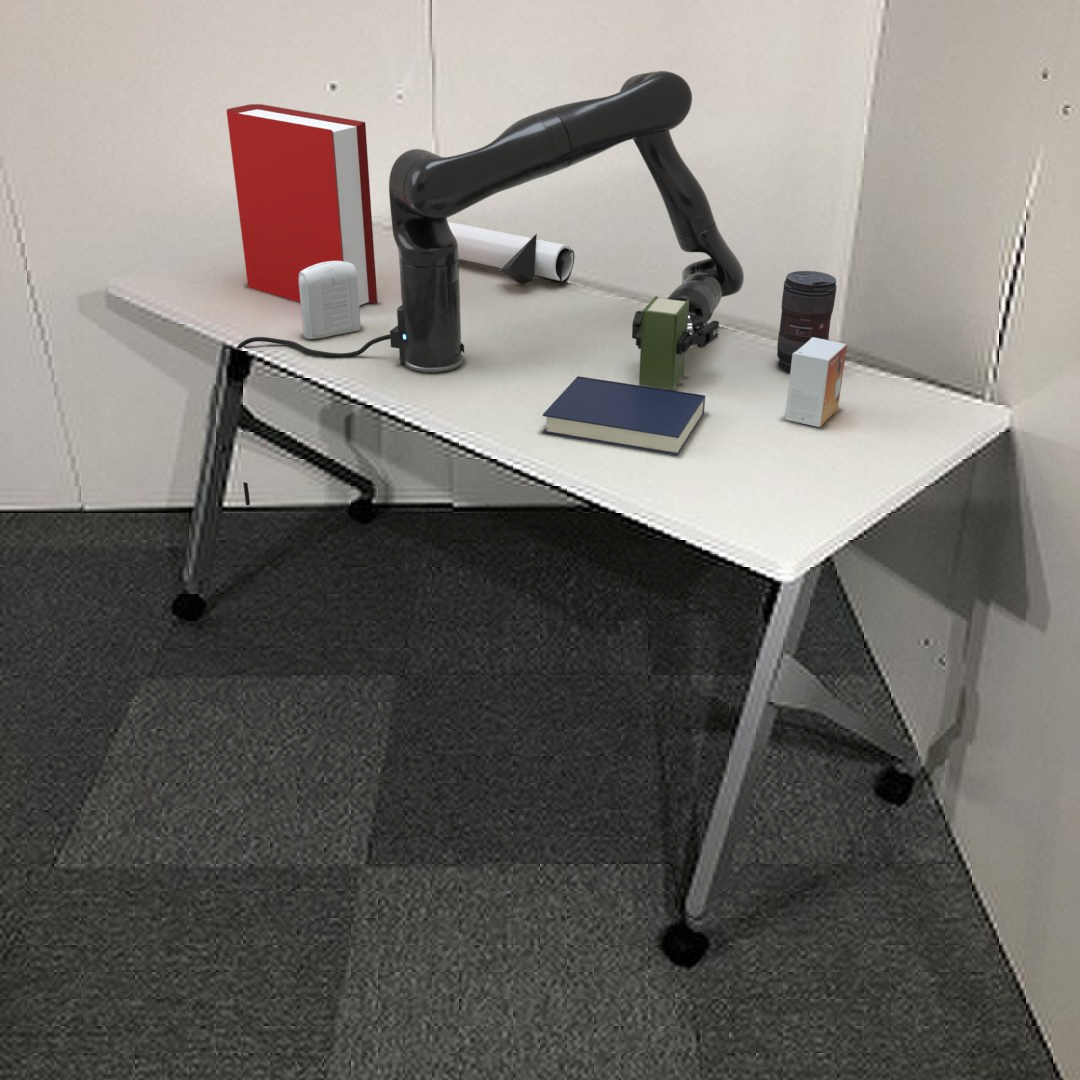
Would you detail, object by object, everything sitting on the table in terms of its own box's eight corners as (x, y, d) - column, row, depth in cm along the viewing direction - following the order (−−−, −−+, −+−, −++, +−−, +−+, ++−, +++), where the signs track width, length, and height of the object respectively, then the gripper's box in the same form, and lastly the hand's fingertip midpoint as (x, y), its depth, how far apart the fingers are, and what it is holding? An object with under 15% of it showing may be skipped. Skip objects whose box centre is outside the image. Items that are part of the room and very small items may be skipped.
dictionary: (638, 384, 185) (642, 310, 179) (651, 368, 191) (655, 296, 185) (672, 390, 184) (677, 315, 178) (684, 373, 189) (689, 300, 183)
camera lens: (835, 371, 192) (848, 280, 185) (794, 380, 189) (806, 288, 182) (804, 354, 199) (816, 266, 191) (764, 362, 196) (774, 273, 188)
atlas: (542, 433, 172) (542, 414, 171) (577, 394, 184) (577, 376, 183) (677, 455, 166) (678, 436, 164) (704, 414, 178) (705, 395, 177)
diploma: (425, 270, 247) (389, 243, 235) (441, 228, 247) (406, 199, 235) (568, 303, 230) (537, 275, 218) (584, 257, 230) (554, 228, 219)
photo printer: (354, 323, 210) (348, 254, 204) (365, 330, 207) (360, 260, 201) (299, 334, 206) (292, 264, 199) (310, 342, 202) (303, 271, 196)
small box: (820, 428, 174) (829, 360, 168) (783, 420, 176) (791, 352, 171) (839, 409, 180) (848, 343, 174) (803, 401, 182) (812, 335, 177)
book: (377, 303, 219) (365, 122, 203) (346, 315, 214) (331, 129, 198) (274, 275, 233) (255, 103, 217) (243, 285, 228) (221, 110, 212)
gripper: (646, 282, 196) (615, 316, 182) (733, 292, 191) (707, 328, 178) (644, 325, 200) (613, 362, 186) (729, 336, 195) (704, 375, 182)
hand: (659, 345), depth 182 cm, fingers closed on dictionary, 5 cm apart
